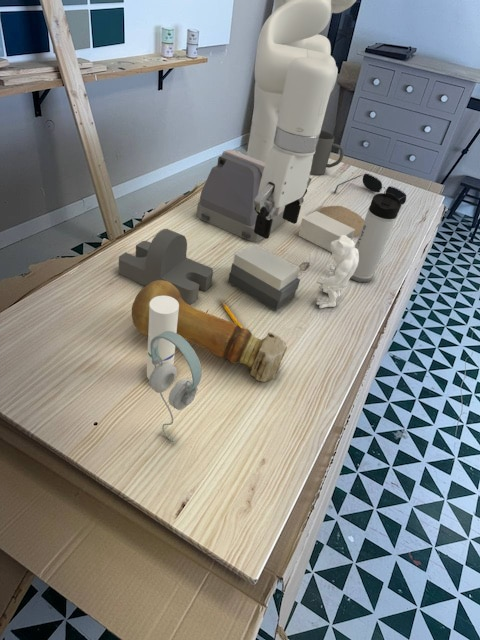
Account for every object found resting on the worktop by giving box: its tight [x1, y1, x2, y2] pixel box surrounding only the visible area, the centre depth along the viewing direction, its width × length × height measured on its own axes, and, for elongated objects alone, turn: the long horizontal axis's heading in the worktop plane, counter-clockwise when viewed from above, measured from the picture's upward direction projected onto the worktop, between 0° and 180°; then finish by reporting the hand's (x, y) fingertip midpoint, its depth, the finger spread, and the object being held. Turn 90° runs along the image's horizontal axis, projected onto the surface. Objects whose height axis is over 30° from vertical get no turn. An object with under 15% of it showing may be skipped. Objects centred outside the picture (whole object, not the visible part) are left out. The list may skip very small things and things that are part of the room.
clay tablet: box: [317, 205, 365, 238], centre depth 131 cm, size 14×10×3 cm
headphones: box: [148, 331, 202, 443], centre depth 62 cm, size 8×4×20 cm, turn 49°
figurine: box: [315, 235, 359, 309], centre depth 97 cm, size 11×7×15 cm, turn 157°
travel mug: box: [350, 192, 402, 283], centre depth 106 cm, size 6×7×20 cm
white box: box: [232, 243, 301, 290], centre depth 97 cm, size 12×7×2 cm, turn 51°
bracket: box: [118, 228, 214, 305], centre depth 95 cm, size 10×18×11 cm, turn 63°
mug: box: [310, 129, 345, 176], centre depth 155 cm, size 14×9×12 cm
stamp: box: [131, 280, 288, 383], centre depth 81 cm, size 10×28×15 cm, turn 69°
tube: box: [146, 296, 179, 380], centre depth 73 cm, size 4×4×15 cm
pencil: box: [221, 301, 243, 328], centre depth 89 cm, size 1×19×1 cm, turn 28°
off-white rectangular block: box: [298, 210, 355, 253], centre depth 121 cm, size 12×7×5 cm, turn 52°
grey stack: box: [227, 262, 301, 312], centre depth 99 cm, size 13×7×5 cm, turn 51°
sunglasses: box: [333, 173, 407, 206], centre depth 146 cm, size 17×15×5 cm
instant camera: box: [196, 148, 286, 243], centre depth 120 cm, size 21×21×15 cm
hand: (275, 227), depth 91 cm, fingers open, 9 cm apart
